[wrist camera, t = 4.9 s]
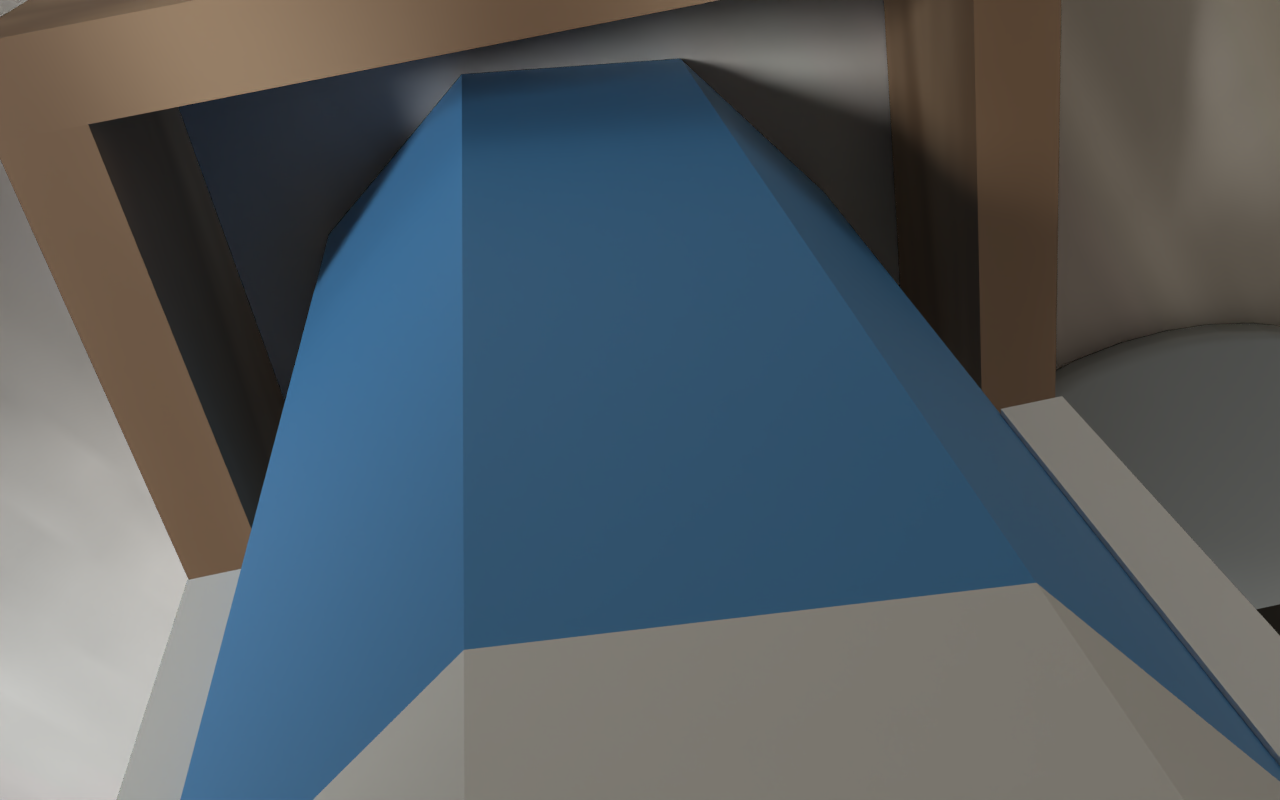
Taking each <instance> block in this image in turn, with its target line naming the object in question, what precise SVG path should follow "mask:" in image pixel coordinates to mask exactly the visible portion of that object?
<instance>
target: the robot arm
mask: <svg viewBox="0 0 1280 800" xmlns="http://www.w3.org/2000/svg"><path fill="white" fill-rule="evenodd" d="M1001 416H1002V417H1003V418H1004V419H1005V421H1006V422H1007V423H1008V424H1009V426H1010V427H1011V428H1012V429H1013V431H1014V432H1015V433H1016V434H1017V436H1018V437H1019V438H1020V440H1021V441H1022V442H1023V443H1024V445H1025V446H1026V447H1027V448H1028V450H1029V451H1030V452H1031V453H1032V455H1033V456H1034V457H1035V458H1036V460H1037V461H1038V462H1039V463H1040V465H1041V466H1042V467H1043V468H1044V470H1045V471H1046V472H1047V474H1048V475H1049V476H1050V477H1051V479H1052V480H1053V481H1054V482H1055V484H1056V485H1057V486H1058V487H1059V489H1060V490H1061V491H1062V492H1063V494H1064V495H1065V496H1066V497H1067V499H1068V500H1069V501H1070V502H1071V504H1072V505H1073V506H1074V507H1075V509H1076V510H1077V511H1078V513H1079V514H1080V515H1081V516H1082V518H1083V519H1084V520H1085V521H1086V523H1087V524H1088V525H1089V526H1090V528H1091V529H1092V530H1093V531H1094V533H1095V534H1096V535H1097V536H1098V538H1099V539H1100V540H1101V541H1102V543H1103V544H1104V545H1105V546H1106V548H1107V549H1108V550H1109V552H1110V553H1111V554H1112V555H1113V557H1114V558H1115V559H1116V560H1117V562H1118V563H1119V564H1120V565H1121V567H1122V568H1123V569H1124V570H1125V572H1126V573H1127V574H1128V575H1129V577H1130V578H1131V579H1132V580H1133V582H1134V583H1135V584H1136V585H1137V587H1138V588H1139V589H1140V591H1141V592H1142V593H1143V594H1144V596H1145V597H1146V598H1147V599H1148V601H1149V602H1150V603H1151V604H1152V606H1153V607H1154V608H1155V609H1156V611H1157V612H1158V613H1159V614H1160V616H1161V617H1162V618H1163V619H1164V621H1165V622H1166V623H1167V624H1168V626H1169V627H1170V628H1171V630H1172V631H1173V632H1174V633H1175V635H1176V636H1177V637H1178V638H1179V640H1180V641H1181V642H1182V643H1183V645H1184V646H1185V647H1186V648H1187V650H1188V651H1189V652H1190V653H1191V655H1192V656H1193V657H1194V658H1195V660H1196V661H1197V662H1198V663H1199V665H1200V666H1201V667H1202V669H1203V670H1204V671H1205V672H1206V674H1207V675H1208V676H1209V677H1210V679H1211V680H1212V681H1213V682H1214V684H1215V685H1216V686H1217V687H1218V689H1219V690H1220V691H1221V692H1222V694H1223V695H1224V696H1225V697H1226V699H1227V700H1228V701H1229V703H1230V704H1231V705H1232V706H1233V708H1234V709H1235V710H1236V711H1237V713H1238V714H1239V715H1240V716H1241V718H1242V719H1243V720H1244V721H1245V723H1246V724H1247V725H1248V726H1249V728H1250V729H1251V730H1252V731H1253V733H1254V734H1255V735H1256V736H1257V738H1258V739H1259V740H1260V742H1261V743H1262V744H1263V745H1264V747H1265V748H1266V749H1267V750H1268V752H1269V753H1270V754H1271V755H1272V757H1273V758H1274V759H1275V760H1276V762H1277V763H1278V764H1279V765H1280V604H1279V605H1274V606H1269V607H1265V608H1260V609H1255V608H1254V607H1253V605H1252V604H1251V603H1250V602H1249V601H1248V600H1247V599H1246V598H1245V597H1244V596H1243V594H1242V593H1241V592H1240V591H1239V590H1238V589H1237V588H1236V587H1235V586H1234V585H1233V583H1232V582H1231V581H1230V580H1229V579H1228V578H1227V577H1226V576H1225V575H1224V574H1223V572H1222V571H1221V570H1220V569H1219V568H1218V567H1217V566H1216V565H1215V564H1214V563H1213V561H1212V560H1211V559H1210V558H1209V557H1208V556H1207V555H1206V554H1205V553H1204V552H1203V550H1202V549H1201V548H1200V547H1199V546H1198V545H1197V544H1196V543H1195V542H1194V541H1193V539H1192V538H1191V537H1190V536H1189V535H1188V534H1187V533H1186V532H1185V531H1184V530H1183V528H1182V527H1181V526H1180V525H1179V524H1178V523H1177V522H1176V521H1175V520H1174V519H1173V517H1172V516H1171V515H1170V514H1169V513H1168V512H1167V511H1166V510H1165V509H1164V508H1163V506H1162V505H1161V504H1160V503H1159V502H1158V501H1157V500H1156V499H1155V498H1154V497H1153V495H1152V494H1151V493H1150V492H1149V491H1148V490H1147V489H1146V488H1145V487H1144V486H1143V485H1142V483H1141V482H1140V481H1139V480H1138V479H1137V478H1136V477H1135V476H1134V475H1133V474H1132V472H1131V471H1130V470H1129V469H1128V468H1127V467H1126V466H1125V465H1124V464H1123V463H1122V461H1121V460H1120V459H1119V458H1118V457H1117V456H1116V455H1115V454H1114V453H1113V452H1112V450H1111V449H1110V448H1109V447H1108V446H1107V445H1106V444H1105V443H1104V442H1103V441H1102V439H1101V438H1100V437H1099V436H1098V435H1097V434H1096V433H1095V432H1094V431H1093V430H1092V428H1091V427H1090V426H1089V425H1088V424H1087V423H1086V422H1085V421H1084V420H1083V419H1082V417H1081V416H1080V415H1079V414H1078V413H1077V412H1076V411H1075V410H1074V409H1073V408H1072V406H1071V405H1070V404H1069V403H1068V402H1067V401H1066V400H1065V399H1064V398H1063V397H1062V396H1060V397H1055V398H1051V399H1046V400H1041V401H1036V402H1031V403H1027V404H1022V405H1017V406H1012V407H1008V408H1003V409H1001ZM240 571H241V569H238V570H233V571H228V572H223V573H219V574H214V575H209V576H204V577H200V578H195V579H190V580H187V583H186V587H185V590H184V593H183V596H182V599H181V602H180V605H179V608H178V611H177V614H176V618H175V621H174V624H173V627H172V630H171V633H170V636H169V639H168V642H167V645H166V648H165V652H164V655H163V658H162V661H161V664H160V667H159V670H158V673H157V676H156V679H155V683H154V686H153V689H152V692H151V695H150V698H149V701H148V704H147V707H146V710H145V713H144V717H143V720H142V723H141V726H140V729H139V732H138V735H137V738H136V741H135V744H134V748H133V751H132V754H131V757H130V760H129V763H128V766H127V769H126V772H125V775H124V778H123V782H122V785H121V788H120V791H119V794H118V797H117V800H180V799H181V795H182V791H183V788H184V784H185V780H186V776H187V772H188V769H189V765H190V761H191V757H192V753H193V750H194V746H195V742H196V738H197V734H198V731H199V727H200V723H201V719H202V715H203V712H204V708H205V704H206V700H207V696H208V693H209V689H210V685H211V681H212V677H213V674H214V670H215V666H216V662H217V658H218V655H219V651H220V647H221V643H222V639H223V636H224V632H225V628H226V624H227V620H228V617H229V613H230V609H231V605H232V601H233V598H234V594H235V590H236V586H237V582H238V579H239V575H240Z"/></svg>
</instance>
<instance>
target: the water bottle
mask: <svg viewBox="0 0 1280 800" xmlns="http://www.w3.org/2000/svg"><path fill="white" fill-rule="evenodd" d="M180 800H1280V765H1279V764H1278V763H1277V762H1276V760H1275V759H1274V758H1273V757H1272V755H1271V754H1270V753H1269V752H1268V750H1267V749H1266V748H1265V747H1264V745H1263V744H1262V743H1261V742H1260V740H1259V739H1258V738H1257V736H1256V735H1255V734H1254V733H1253V731H1252V730H1251V729H1250V728H1249V726H1248V725H1247V724H1246V723H1245V721H1244V720H1243V719H1242V718H1241V716H1240V715H1239V714H1238V713H1237V711H1236V710H1235V709H1234V708H1233V706H1232V705H1231V704H1230V703H1229V701H1228V700H1227V699H1226V697H1225V696H1224V695H1223V694H1222V692H1221V691H1220V690H1219V689H1218V687H1217V686H1216V685H1215V684H1214V682H1213V681H1212V680H1211V679H1210V677H1209V676H1208V675H1207V674H1206V672H1205V671H1204V670H1203V669H1202V667H1201V666H1200V665H1199V663H1198V662H1197V661H1196V660H1195V658H1194V657H1193V656H1192V655H1191V653H1190V652H1189V651H1188V650H1187V648H1186V647H1185V646H1184V645H1183V643H1182V642H1181V641H1180V640H1179V638H1178V637H1177V636H1176V635H1175V633H1174V632H1173V631H1172V630H1171V628H1170V627H1169V626H1168V624H1167V623H1166V622H1165V621H1164V619H1163V618H1162V617H1161V616H1160V614H1159V613H1158V612H1157V611H1156V609H1155V608H1154V607H1153V606H1152V604H1151V603H1150V602H1149V601H1148V599H1147V598H1146V597H1145V596H1144V594H1143V593H1142V592H1141V591H1140V589H1139V588H1138V587H1137V585H1136V584H1135V583H1134V582H1133V580H1132V579H1131V578H1130V577H1129V575H1128V574H1127V573H1126V572H1125V570H1124V569H1123V568H1122V567H1121V565H1120V564H1119V563H1118V562H1117V560H1116V559H1115V558H1114V557H1113V555H1112V554H1111V553H1110V552H1109V550H1108V549H1107V548H1106V546H1105V545H1104V544H1103V543H1102V541H1101V540H1100V539H1099V538H1098V536H1097V535H1096V534H1095V533H1094V531H1093V530H1092V529H1091V528H1090V526H1089V525H1088V524H1087V523H1086V521H1085V520H1084V519H1083V518H1082V516H1081V515H1080V514H1079V513H1078V511H1077V510H1076V509H1075V507H1074V506H1073V505H1072V504H1071V502H1070V501H1069V500H1068V499H1067V497H1066V496H1065V495H1064V494H1063V492H1062V491H1061V490H1060V489H1059V487H1058V486H1057V485H1056V484H1055V482H1054V481H1053V480H1052V479H1051V477H1050V476H1049V475H1048V474H1047V472H1046V471H1045V470H1044V468H1043V467H1042V466H1041V465H1040V463H1039V462H1038V461H1037V460H1036V458H1035V457H1034V456H1033V455H1032V453H1031V452H1030V451H1029V450H1028V448H1027V447H1026V446H1025V445H1024V443H1023V442H1022V441H1021V440H1020V438H1019V437H1018V436H1017V434H1016V433H1015V432H1014V431H1013V429H1012V428H1011V427H1010V426H1009V424H1008V423H1007V422H1006V421H1005V419H1004V418H1003V417H1002V416H1001V414H1000V413H999V411H998V410H997V409H996V408H995V406H994V405H993V404H992V403H991V401H990V400H989V399H988V398H987V396H986V395H985V394H984V393H983V391H982V390H981V389H980V387H979V386H978V385H977V384H976V382H975V381H974V380H973V379H972V377H971V376H970V375H969V374H968V372H967V371H966V370H965V369H964V367H963V366H962V365H961V364H960V362H959V361H958V360H957V359H956V357H955V356H954V355H953V354H952V352H951V351H950V350H949V349H948V347H947V346H946V345H945V344H944V342H943V341H942V340H941V338H940V337H939V336H938V335H937V333H936V332H935V331H934V330H933V328H932V327H931V326H930V325H929V323H928V322H927V321H926V320H925V318H924V317H923V316H922V315H921V313H920V312H919V311H918V310H917V308H916V307H915V306H914V305H913V303H912V302H911V301H910V300H909V298H908V297H907V296H906V294H905V293H904V292H903V291H902V289H901V288H900V287H899V286H898V284H897V283H896V282H895V281H894V279H893V278H892V277H891V276H890V274H889V273H888V272H887V271H886V269H885V268H884V267H883V266H882V264H881V263H880V262H879V261H878V259H877V258H876V257H875V256H874V254H873V253H872V252H871V251H870V249H869V248H868V247H867V245H866V244H865V243H864V242H863V240H862V239H861V238H860V237H859V235H858V234H857V233H856V232H855V230H854V229H853V228H852V227H851V225H850V224H849V223H848V222H847V220H846V219H845V218H844V217H843V215H842V214H841V213H840V212H839V210H838V209H837V208H836V207H835V205H834V204H833V203H832V201H831V200H830V199H829V198H828V196H827V195H826V194H825V193H824V192H823V191H822V190H821V189H820V188H819V187H818V186H817V185H816V184H815V183H813V182H812V181H811V180H810V179H809V178H808V177H807V176H806V175H805V174H804V173H803V172H802V171H801V170H799V169H798V168H797V167H796V166H795V165H794V164H793V163H792V162H791V161H790V160H789V159H788V158H787V157H785V156H784V155H783V154H782V153H781V152H780V151H779V150H778V149H777V148H776V147H775V146H774V145H773V144H771V143H770V142H769V141H768V140H767V139H766V138H765V137H764V136H763V135H762V134H761V133H760V132H759V131H758V130H756V129H755V128H754V127H753V126H752V125H751V124H750V123H749V122H748V121H747V120H746V119H745V118H744V117H742V116H741V115H740V114H739V113H738V112H737V111H736V110H735V109H734V108H733V107H732V106H731V105H730V104H728V103H727V102H726V101H725V100H724V99H723V98H722V97H721V96H720V95H719V94H718V93H717V92H716V91H714V90H713V89H712V88H711V87H710V86H709V85H708V84H707V83H706V82H705V81H704V80H703V79H702V78H700V77H699V76H698V75H697V74H696V73H695V72H694V71H693V70H692V69H691V68H690V67H689V66H688V65H687V64H685V63H684V62H683V61H682V60H681V59H668V60H655V61H641V62H627V63H613V64H599V65H585V66H571V67H557V68H544V69H530V70H516V71H502V72H488V73H474V74H462V75H461V76H460V77H459V78H458V79H457V81H456V82H455V83H454V84H453V85H452V87H451V88H450V89H449V90H448V92H447V93H446V94H445V95H444V96H443V98H442V99H441V100H440V101H439V102H438V104H437V105H436V106H435V107H434V108H433V110H432V111H431V112H430V113H429V114H428V116H427V117H426V118H425V119H424V120H423V122H422V123H421V124H420V125H419V127H418V128H417V129H416V130H415V131H414V133H413V134H412V135H411V136H410V137H409V139H408V140H407V141H406V142H405V143H404V145H403V146H402V147H401V148H400V149H399V151H398V152H397V153H396V154H395V155H394V157H393V158H392V159H391V160H390V162H389V163H388V164H387V165H386V166H385V168H384V169H383V170H382V171H381V172H380V174H379V175H378V176H377V177H376V178H375V180H374V181H373V182H372V183H371V184H370V186H369V187H368V188H367V189H366V190H365V192H364V193H363V194H362V195H361V197H360V198H359V199H358V200H357V201H356V203H355V204H354V205H353V206H352V207H351V209H350V210H349V211H348V212H347V213H346V215H345V216H344V217H343V218H342V219H341V221H340V222H339V223H338V224H337V226H336V227H335V228H334V229H333V230H332V232H331V233H330V234H329V236H328V240H327V244H326V248H325V252H324V255H323V259H322V263H321V267H320V271H319V274H318V278H317V282H316V286H315V290H314V293H313V297H312V301H311V305H310V309H309V312H308V316H307V320H306V324H305V328H304V331H303V335H302V339H301V343H300V347H299V350H298V354H297V358H296V362H295V366H294V369H293V373H292V377H291V381H290V385H289V388H288V392H287V396H286V400H285V404H284V407H283V411H282V415H281V419H280V423H279V426H278V430H277V434H276V438H275V442H274V445H273V449H272V453H271V457H270V461H269V464H268V468H267V472H266V476H265V480H264V483H263V487H262V491H261V495H260V499H259V503H258V506H257V510H256V514H255V518H254V522H253V525H252V529H251V533H250V537H249V541H248V544H247V548H246V552H245V556H244V560H243V563H242V567H241V571H240V575H239V579H238V582H237V586H236V590H235V594H234V598H233V601H232V605H231V609H230V613H229V617H228V620H227V624H226V628H225V632H224V636H223V639H222V643H221V647H220V651H219V655H218V658H217V662H216V666H215V670H214V674H213V677H212V681H211V685H210V689H209V693H208V696H207V700H206V704H205V708H204V712H203V715H202V719H201V723H200V727H199V731H198V734H197V738H196V742H195V746H194V750H193V753H192V757H191V761H190V765H189V769H188V772H187V776H186V780H185V784H184V788H183V791H182V795H181V799H180Z"/></svg>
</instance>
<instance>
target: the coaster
mask: <svg viewBox="0 0 1280 800" xmlns="http://www.w3.org/2000/svg"><path fill="white" fill-rule="evenodd" d="M1060 396H1062V397H1063V398H1064V399H1065V400H1066V401H1067V402H1068V403H1069V404H1070V405H1071V406H1072V408H1073V409H1074V410H1075V411H1076V412H1077V413H1078V414H1079V415H1080V416H1081V417H1082V419H1083V420H1084V421H1085V422H1086V423H1087V424H1088V425H1089V426H1090V427H1091V428H1092V430H1093V431H1094V432H1095V433H1096V434H1097V435H1098V436H1099V437H1100V438H1101V439H1102V441H1103V442H1104V443H1105V444H1106V445H1107V446H1108V447H1109V448H1110V449H1111V450H1112V452H1113V453H1114V454H1115V455H1116V456H1117V457H1118V458H1119V459H1120V460H1121V461H1122V463H1123V464H1124V465H1125V466H1126V467H1127V468H1128V469H1129V470H1130V471H1131V472H1132V474H1133V475H1134V476H1135V477H1136V478H1137V479H1138V480H1139V481H1140V482H1141V483H1142V485H1143V486H1144V487H1145V488H1146V489H1147V490H1148V491H1149V492H1150V493H1151V494H1152V495H1153V497H1154V498H1155V499H1156V500H1157V501H1158V502H1159V503H1160V504H1161V505H1162V506H1163V508H1164V509H1165V510H1166V511H1167V512H1168V513H1169V514H1170V515H1171V516H1172V517H1173V519H1174V520H1175V521H1176V522H1177V523H1178V524H1179V525H1180V526H1181V527H1182V528H1183V530H1184V531H1185V532H1186V533H1187V534H1188V535H1189V536H1190V537H1191V538H1192V539H1193V541H1194V542H1195V543H1196V544H1197V545H1198V546H1199V547H1200V548H1201V549H1202V550H1203V552H1204V553H1205V554H1206V555H1207V556H1208V557H1209V558H1210V559H1211V560H1212V561H1213V563H1214V564H1215V565H1216V566H1217V567H1218V568H1219V569H1220V570H1221V571H1222V572H1223V574H1224V575H1225V576H1226V577H1227V578H1228V579H1229V580H1230V581H1231V582H1232V583H1233V585H1234V586H1235V587H1236V588H1237V589H1238V590H1239V591H1240V592H1241V593H1242V594H1243V596H1244V597H1245V598H1246V599H1247V600H1248V601H1249V602H1250V603H1251V604H1252V605H1253V607H1254V608H1255V609H1260V608H1265V607H1269V606H1274V605H1279V604H1280V326H1274V325H1265V324H1255V323H1246V324H1210V325H1203V326H1197V327H1190V328H1183V329H1177V330H1170V331H1164V332H1161V333H1157V334H1153V335H1150V336H1146V337H1142V338H1138V339H1135V340H1131V341H1127V342H1123V343H1120V344H1117V345H1115V346H1112V347H1110V348H1107V349H1104V350H1102V351H1099V352H1097V353H1094V354H1092V355H1089V356H1086V357H1084V358H1081V359H1079V360H1076V361H1074V362H1072V363H1070V364H1068V365H1066V366H1064V367H1062V368H1060V369H1058V370H1056V378H1055V397H1060Z"/></svg>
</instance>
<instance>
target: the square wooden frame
mask: <svg viewBox="0 0 1280 800" xmlns="http://www.w3.org/2000/svg"><path fill="white" fill-rule="evenodd" d="M713 1H718V0H28V1H26V2H24V3H23V4H21V5H19V6H18V7H16V8H15V9H13V10H11V11H10V12H8V13H6V14H5V15H3V16H2V17H0V159H1V162H2V164H3V166H4V168H5V171H6V173H7V175H8V177H9V180H10V182H11V184H12V186H13V188H14V191H15V193H16V195H17V197H18V200H19V202H20V204H21V206H22V209H23V211H24V213H25V215H26V218H27V220H28V222H29V224H30V226H31V229H32V231H33V233H34V235H35V238H36V240H37V242H38V244H39V247H40V249H41V251H42V253H43V255H44V258H45V260H46V262H47V264H48V267H49V269H50V271H51V273H52V276H53V278H54V280H55V282H56V284H57V287H58V289H59V291H60V293H61V296H62V298H63V300H64V302H65V305H66V307H67V309H68V311H69V313H70V316H71V318H72V320H73V322H74V325H75V327H76V329H77V331H78V334H79V336H80V338H81V340H82V343H83V345H84V347H85V349H86V351H87V354H88V356H89V358H90V360H91V363H92V365H93V367H94V369H95V372H96V374H97V376H98V378H99V380H100V383H101V385H102V387H103V389H104V392H105V394H106V396H107V398H108V401H109V403H110V405H111V407H112V409H113V412H114V414H115V416H116V418H117V421H118V423H119V425H120V427H121V430H122V432H123V434H124V436H125V438H126V441H127V443H128V445H129V447H130V450H131V452H132V454H133V456H134V459H135V461H136V463H137V465H138V467H139V470H140V472H141V474H142V476H143V479H144V481H145V483H146V485H147V488H148V490H149V492H150V494H151V497H152V499H153V501H154V503H155V505H156V508H157V510H158V512H159V514H160V517H161V519H162V521H163V523H164V526H165V528H166V530H167V532H168V534H169V537H170V539H171V541H172V543H173V546H174V548H175V550H176V552H177V555H178V557H179V559H180V561H181V563H182V566H183V568H184V570H185V572H186V575H187V577H188V579H189V580H190V579H195V578H200V577H204V576H209V575H214V574H219V573H223V572H228V571H233V570H238V569H241V567H242V563H243V560H244V556H245V552H246V548H247V544H248V541H249V537H250V533H251V529H252V525H253V522H254V518H255V514H256V510H257V506H258V503H259V499H260V495H261V491H262V487H263V483H264V480H265V476H266V472H267V468H268V464H269V461H270V457H271V453H272V449H273V445H274V442H275V438H276V434H277V430H278V426H279V423H280V419H281V415H282V411H283V407H284V404H285V401H284V399H283V396H282V393H281V390H280V388H279V385H278V382H277V379H276V377H275V374H274V371H273V368H272V366H271V363H270V360H269V357H268V354H267V352H266V349H265V346H264V343H263V341H262V338H261V335H260V332H259V330H258V327H257V324H256V321H255V319H254V316H253V313H252V310H251V308H250V305H249V302H248V299H247V296H246V294H245V291H244V288H243V285H242V283H241V280H240V277H239V274H238V272H237V269H236V266H235V263H234V261H233V258H232V255H231V252H230V250H229V247H228V244H227V241H226V238H225V236H224V233H223V230H222V227H221V225H220V222H219V219H218V216H217V214H216V211H215V208H214V205H213V203H212V200H211V197H210V194H209V192H208V189H207V186H206V183H205V180H204V178H203V175H202V172H201V169H200V167H199V164H198V161H197V158H196V156H195V153H194V150H193V147H192V145H191V142H190V139H189V136H188V134H187V131H186V128H185V125H184V122H183V120H182V117H181V114H180V111H179V109H178V107H179V106H184V105H189V104H194V103H200V102H205V101H210V100H215V99H220V98H225V97H230V96H235V95H240V94H245V93H250V92H255V91H261V90H266V89H271V88H276V87H281V86H286V85H291V84H296V83H301V82H306V81H311V80H316V79H321V78H327V77H332V76H337V75H342V74H347V73H352V72H357V71H362V70H367V69H372V68H377V67H382V66H387V65H393V64H398V63H403V62H408V61H413V60H418V59H423V58H428V57H433V56H438V55H443V54H448V53H454V52H459V51H464V50H469V49H474V48H479V47H484V46H489V45H494V44H499V43H504V42H509V41H514V40H520V39H525V38H530V37H535V36H540V35H545V34H550V33H555V32H560V31H565V30H570V29H575V28H580V27H586V26H591V25H596V24H601V23H606V22H611V21H616V20H621V19H626V18H631V17H636V16H641V15H647V14H652V13H657V12H662V11H667V10H672V9H677V8H682V7H687V6H692V5H697V4H702V3H707V2H713ZM884 11H885V29H886V46H887V64H888V81H889V99H890V116H891V133H892V151H893V168H894V186H895V203H896V221H897V238H898V256H899V273H900V288H901V289H902V291H903V292H904V293H905V294H906V296H907V297H908V298H909V300H910V301H911V302H912V303H913V305H914V306H915V307H916V308H917V310H918V311H919V312H920V313H921V315H922V316H923V317H924V318H925V320H926V321H927V322H928V323H929V325H930V326H931V327H932V328H933V330H934V331H935V332H936V333H937V335H938V336H939V337H940V338H941V340H942V341H943V342H944V344H945V345H946V346H947V347H948V349H949V350H950V351H951V352H952V354H953V355H954V356H955V357H956V359H957V360H958V361H959V362H960V364H961V365H962V366H963V367H964V369H965V370H966V371H967V372H968V374H969V375H970V376H971V377H972V379H973V380H974V381H975V382H976V384H977V385H978V386H979V387H980V389H981V390H982V391H983V393H984V394H985V395H986V396H987V398H988V399H989V400H990V401H991V403H992V404H993V405H994V406H995V408H996V409H997V410H998V411H999V413H1000V414H1001V409H1003V408H1008V407H1012V406H1017V405H1022V404H1027V403H1031V402H1036V401H1041V400H1046V399H1051V398H1055V378H1056V312H1057V247H1058V181H1059V115H1060V50H1061V0H884Z"/></svg>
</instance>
